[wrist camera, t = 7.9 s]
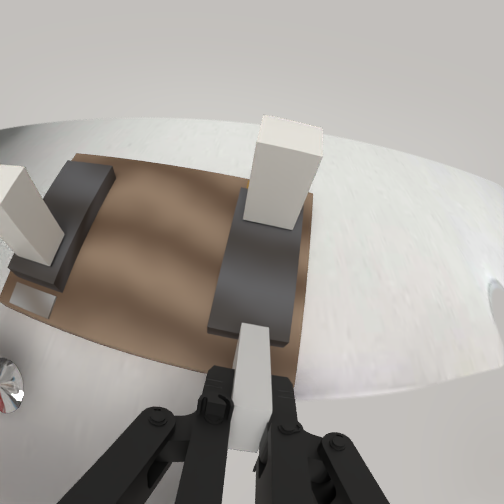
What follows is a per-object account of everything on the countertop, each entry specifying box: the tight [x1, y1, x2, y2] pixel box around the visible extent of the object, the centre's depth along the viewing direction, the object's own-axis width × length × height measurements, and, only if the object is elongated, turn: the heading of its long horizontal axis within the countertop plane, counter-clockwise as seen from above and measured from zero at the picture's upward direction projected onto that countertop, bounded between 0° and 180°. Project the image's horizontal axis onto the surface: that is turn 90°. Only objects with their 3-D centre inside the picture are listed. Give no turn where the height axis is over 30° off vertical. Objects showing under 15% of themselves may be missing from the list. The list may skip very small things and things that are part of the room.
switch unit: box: [0, 153, 313, 387], centre depth 24 cm, size 18×26×3 cm
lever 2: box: [243, 115, 323, 230], centre depth 21 cm, size 3×4×8 cm
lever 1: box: [0, 164, 65, 266], centre depth 17 cm, size 3×4×8 cm
